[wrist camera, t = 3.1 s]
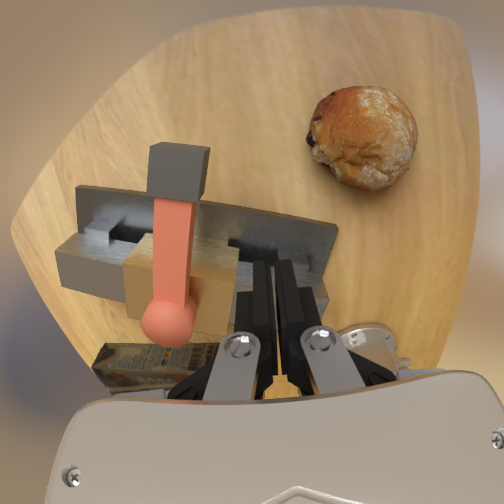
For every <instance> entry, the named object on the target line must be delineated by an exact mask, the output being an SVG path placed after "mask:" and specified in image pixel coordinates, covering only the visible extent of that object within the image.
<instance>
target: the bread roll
mask: <svg viewBox="0 0 504 504" xmlns="http://www.w3.org/2000/svg"><path fill="white" fill-rule="evenodd" d="M417 139H418V131H417V125H416V121H415V119H414V117H413V115H412V113H411V111H410V110H409V108H408V107H407V106H406V104H405V103H404V102H403V101H402V100H401V99H400V98H399V97H398V96H397V95H395V94H394V93H392V92H391V91H389V90H387V89H384V88H380V87H373V86H353V87H349V88H343V89H340V90H337V91H334V92H331V93H330V94H329V95H328V96H327V97H326V98H324V99H322V100H321V101H320V102H319V103H318V105H317V107H316V109H315V111H314V114H313V118H312V119H311V122H310V130H309V133H308V135H307V138H306V141H307V143H308V144H309V145H310V146H312V147H313V149H312V151H311V152H312V154H313V155H312V156H313V160H314V161H316V162H317V163H321V164H323V165H326V166H327V167H330V169H331V171H332V173H333V174H334V175H335V178H337V180H338V182H342V183H344V184H347V185H349V186H351V187H353V188H356V189H360V190H364V191H380V190H383V189H387V188H388V187H390V186H391V185H393V184H394V183H396V182H397V181H398V179H399V178H400V177H401V176H402V175H403V174H404V173H405V172H406V171H407V170H408V169H409V165H410V162H411V160H412V157H413V153H414V151H415V147H416V144H417Z"/></svg>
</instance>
